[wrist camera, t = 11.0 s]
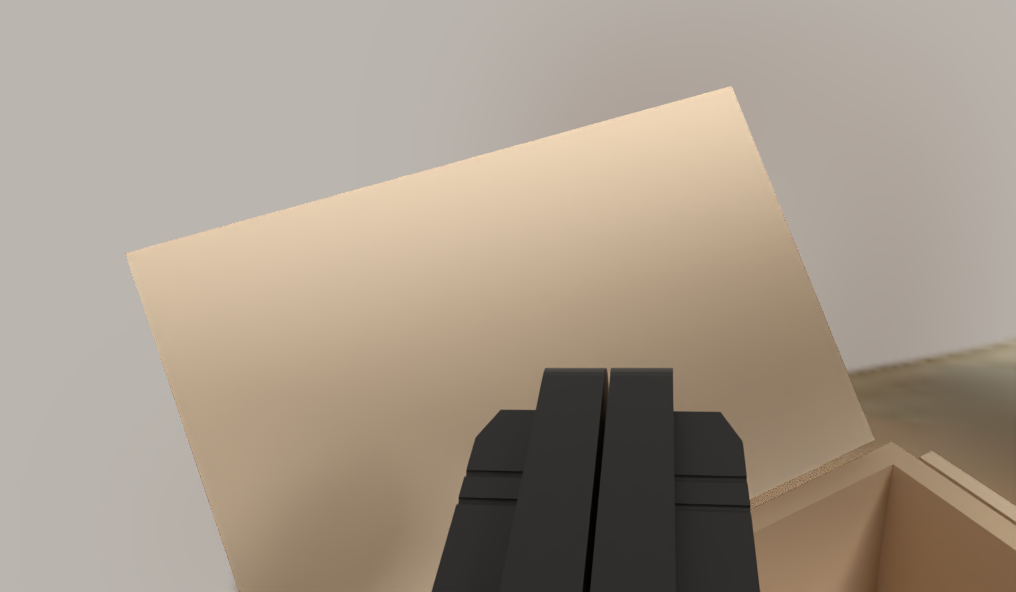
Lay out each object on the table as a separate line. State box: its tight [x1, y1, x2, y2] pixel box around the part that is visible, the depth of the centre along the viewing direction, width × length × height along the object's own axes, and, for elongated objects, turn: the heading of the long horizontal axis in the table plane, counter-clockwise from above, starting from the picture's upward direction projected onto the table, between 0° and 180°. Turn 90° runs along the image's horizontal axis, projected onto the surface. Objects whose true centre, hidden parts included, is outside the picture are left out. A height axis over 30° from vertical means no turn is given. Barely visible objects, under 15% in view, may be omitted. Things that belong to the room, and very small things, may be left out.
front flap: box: [125, 86, 875, 592], centre depth 19 cm, size 14×9×1 cm
